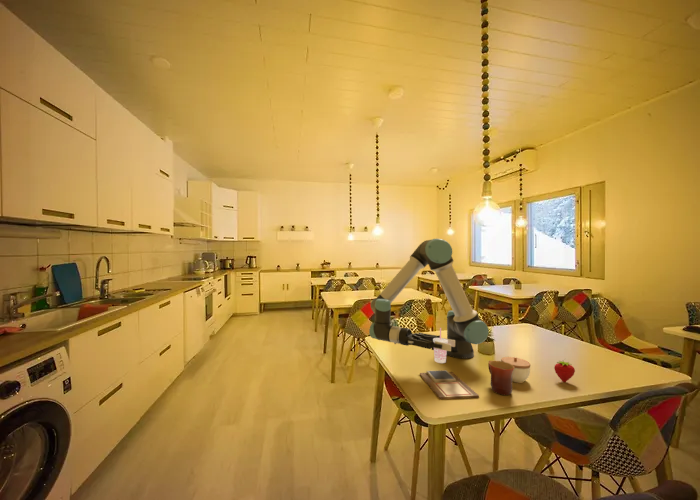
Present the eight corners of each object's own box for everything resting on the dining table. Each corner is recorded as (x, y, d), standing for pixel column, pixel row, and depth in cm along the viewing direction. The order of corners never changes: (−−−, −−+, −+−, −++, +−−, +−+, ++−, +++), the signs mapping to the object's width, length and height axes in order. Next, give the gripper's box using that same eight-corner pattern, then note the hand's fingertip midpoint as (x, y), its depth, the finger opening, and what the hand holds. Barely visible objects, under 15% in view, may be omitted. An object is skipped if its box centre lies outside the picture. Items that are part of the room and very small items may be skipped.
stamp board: (452, 373, 123) (452, 369, 123) (478, 397, 102) (479, 392, 102) (419, 374, 121) (419, 370, 121) (439, 399, 100) (439, 394, 100)
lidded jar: (530, 387, 110) (530, 364, 110) (500, 381, 116) (500, 358, 116) (530, 377, 119) (530, 356, 119) (501, 372, 125) (501, 351, 125)
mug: (520, 396, 103) (519, 369, 103) (497, 397, 102) (497, 369, 102) (499, 382, 115) (499, 357, 115) (479, 382, 114) (479, 357, 114)
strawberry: (579, 385, 113) (579, 360, 113) (561, 385, 112) (561, 360, 112) (567, 378, 119) (566, 355, 119) (550, 379, 118) (550, 355, 118)
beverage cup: (450, 361, 117) (450, 328, 117) (443, 365, 113) (444, 330, 113) (436, 357, 121) (437, 325, 122) (430, 361, 117) (430, 327, 117)
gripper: (408, 339, 135) (458, 348, 122) (391, 349, 119) (446, 361, 106) (409, 323, 135) (458, 331, 122) (392, 331, 120) (446, 342, 106)
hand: (452, 345), depth 114 cm, fingers closed on beverage cup, 6 cm apart
